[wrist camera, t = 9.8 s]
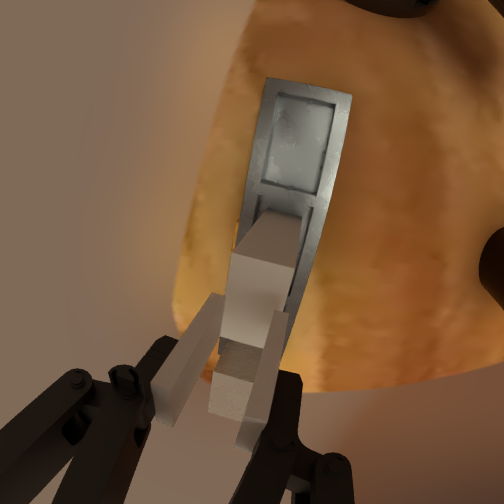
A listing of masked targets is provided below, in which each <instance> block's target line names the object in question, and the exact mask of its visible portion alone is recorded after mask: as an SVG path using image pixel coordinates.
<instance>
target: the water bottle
mask: <svg viewBox="0 0 504 504" xmlns="http://www.w3.org/2000/svg"><path fill="white" fill-rule="evenodd" d="M479 277H480V281H481V283H482V285H483V287H484V288H485V289H486V290H487V291H488V292H489V293H490V295H491V296H492V297H493V298H494V299H495V300H496V302H497V303H498V304H499V305H500V306H501V308H502V309H503V310H504V228H501V229H499V230H498V231H496V232H495V233H494V234H493V235H492V236H491V237H490V239H489V240H488V242H487V243H486V245H485V247H484V249H483V252H482V255H481V258H480V263H479Z"/></svg>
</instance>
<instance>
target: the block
mask: <svg viewBox="0 0 504 504" xmlns="http://www.w3.org/2000/svg"><path fill="white" fill-rule="evenodd" d="M301 223H302V217H300V216H296V215H292V214H288V213H284V212H280V211H276V210H271V209H267V208H266V210H265V211H264V212H263V213H262V215H261V216H260V217H259V219H258V220H257V221H256V222H255V224H254V225H253V226H252V227H251V229H250V230H249V231H248V233H247V234H246V235H245V236H244V238H243V239H242V240H241V241H240V243H239V244H238V245H237V247H236V248H235V249H234V250H233V252H232V254H231V260H230V267H229V273H228V279H227V285H226V292H225V296H226V300H225V306H224V313H223V319H222V326H221V332H220V336H221V337H224V338H227V339H231V340H234V341H238V342H241V343H245V344H248V345H252V346H256V347H259V348H264V344H265V341H266V338H267V334H268V331H269V327H270V324H271V320H272V316H273V313H274V310H278V311H282V312H283V309H284V305H285V302H286V298H287V295H288V292H289V288H290V284H291V281H292V277H293V274H294V270H295V265H296V258H297V252H298V245H299V238H300V231H301Z"/></svg>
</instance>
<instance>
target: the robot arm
mask: <svg viewBox="0 0 504 504" xmlns="http://www.w3.org/2000/svg"><path fill="white" fill-rule="evenodd" d="M346 1H348V2H350V3H352V4H354V5H356V6H358V7H361V8H363V9H366V10H369V11H372V12H375V13H378V14H382V15H387V16H392V17H400V18H413V17H419V16H423V15H425V14H427V13H429V12H430V11H431V10H432V9H433V8H434V7H435V6H436V5H437V4H438V3H439V1H440V0H346ZM488 1H489V2H490V3H491V4H492V5H493V6H494V7H495V9H496V10H497V11H498V12H499V13H500V14H501V15H502V17H503V18H504V0H488ZM225 300H226V296H222V295H219V294H216V293H211V295H210V296H209V298H208V299H207V301H206V302H205V304H204V305H203V306H202V308H201V309H200V311H199V312H198V314H197V315H196V317H195V318H194V319H193V321H192V322H191V324H190V325H189V327H188V328H187V330H186V331H185V333H184V334H183V335H182V337H181V338H180V340H177V339H174V338H172V337H169V336H166V335H165V336H163V337H161V338H159V339H158V340H156V341H155V342H154V344H153V345H152V346H151V347H150V349H149V350H148V351H147V353H146V355H145V356H143V358H142V359H141V360H140V362H139V363H138V364H137V366H136V367H133V366H130V365H117V366H115V367H113V368H112V369H110V371H109V372H108V374H109V378H110V381H111V383H107V382H102V381H98V380H93V379H92V377H91V375H90V374H89V373H88V372H87V371H85V370H83V369H78V368H77V369H71V370H70V371H68V372H66V373H65V374H64V375H63V376H61V377H60V378H59V379H58V380H57V381H56V382H54V383H53V384H52V385H51V386H50V387H49V388H47V389H46V390H45V391H44V392H43V393H42V394H41V395H39V396H38V397H37V398H36V399H35V400H34V401H32V402H31V403H30V404H29V405H28V406H27V407H25V408H24V409H23V410H22V411H21V412H20V413H19V414H17V415H16V416H15V417H14V418H13V419H12V420H11V421H10V422H9V423H7V424H6V425H5V426H4V427H3V428H2V429H1V430H0V504H29V503H30V502H31V501H32V500H33V499H34V498H35V497H36V496H37V495H38V494H39V493H40V492H41V490H42V489H43V488H44V487H45V486H46V485H47V484H48V483H49V482H50V481H51V480H52V479H53V478H54V477H55V475H56V474H57V473H58V472H59V471H60V470H61V469H62V468H63V467H64V466H65V465H66V464H67V463H68V461H70V459H71V458H72V457H73V456H74V457H73V459H72V461H71V463H70V465H69V467H68V469H67V471H66V473H65V475H64V477H63V479H62V482H61V484H60V486H59V488H58V490H57V493H56V495H55V497H54V499H53V502H52V504H123V503H124V500H125V498H126V494H127V492H128V489H129V486H130V483H131V481H132V478H133V475H134V472H135V470H136V467H137V464H138V462H139V459H140V456H141V453H142V451H143V448H144V446H145V443H146V440H147V438H148V435H149V432H150V430H151V421H152V419H153V417H154V416H155V417H156V421H159V422H161V423H163V424H166V425H168V426H171V427H173V426H174V424H175V423H176V421H177V419H178V416H179V415H180V413H181V411H182V409H183V407H184V405H185V403H186V401H187V399H188V397H189V395H190V394H191V392H192V389H193V388H194V386H195V384H196V382H197V380H198V378H199V376H200V374H201V372H202V370H203V368H204V366H205V364H206V362H207V360H208V358H209V356H210V354H211V352H212V351H213V349H214V347H215V345H216V343H217V341H218V339H219V337H220V332H221V326H222V319H223V313H224V306H225ZM288 316H289V313H286V312H282V311H278V310H274V313H273V316H272V320H271V324H270V327H269V331H268V334H267V338H266V341H265V344H264V348H263V351H262V355H261V359H260V362H259V366H258V369H257V373H256V376H255V380H254V383H253V386H252V390H251V393H250V396H249V400H248V403H247V406H246V410H245V413H244V416H243V419H242V423H241V426H240V429H239V432H238V435H237V439H236V442H235V445H234V448H237V449H241V450H244V451H248V452H253V453H252V456H251V460H250V462H249V463H248V465H247V467H246V470H245V472H244V474H243V476H242V478H241V480H240V482H239V484H238V486H237V488H236V490H235V492H234V494H233V496H232V498H231V500H230V502H229V504H280V502H281V499H282V496H283V494H284V491H285V488H286V489H288V490H290V491H292V496H291V504H355V502H354V490H353V479H352V469H351V465H350V462H349V460H348V459H347V458H346V457H345V456H343V455H341V454H339V453H333V452H332V453H326V454H324V455H322V454H319V453H317V452H315V451H313V450H310V449H309V448H307V447H305V446H304V445H303V444H302V443H301V441H300V439H299V437H298V423H299V415H300V407H301V397H302V389H303V382H302V380H301V377H300V375H299V374H297V373H292V372H288V371H283V370H279V365H280V360H281V355H282V349H283V344H284V339H285V333H286V327H287V322H288Z"/></svg>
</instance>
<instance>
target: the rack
mask: <svg viewBox="0 0 504 504" xmlns="http://www.w3.org/2000/svg"><path fill="white" fill-rule="evenodd" d="M351 101H352V95H350V94H346V93H343V92H339V91H335V90H331V89H327V88H323V87H318V86H314V85H309V84H304V83H299V82H293V81H287V80H281V79H275V78H268V77H266V82H265V87H264V92H263V97H262V102H261V107H260V112H259V117H258V123H257V128H256V133H255V138H254V143H253V149H252V154H251V159H250V165H249V170H248V175H247V181H246V186H245V192H244V197H243V203H242V209H241V214H240V219H239V220H238V221H237V222H236V227H235V233H234V239H233V245H232V252H233V250H234V249H235V248H236V247H237V245H238V244H239V243H240V241H241V240H242V239H243V238H244V236H245V235H246V234H247V233H248V231H249V230H250V229H251V227H252V226H253V225H254V224H255V222H256V221H257V220H258V219H259V217H260V216H261V215H262V213H263V212H264V211H265V210H266V208H267V209H271V210H276V211H280V212H284V213H288V214H292V215H296V216H300V217H302V223H301V231H300V238H299V245H298V252H297V258H296V265H295V270H294V274H293V277H292V281H291V284H290V288H289V292H288V295H287V298H286V302H285V305H284V309H283V312H286V313H289V316H288V322H287V327H286V333H285V339H284V344H283V349H282V355H281V358H282V356H283V353H284V350H285V347H286V344H287V341H288V339H289V336H290V333H291V330H292V327H293V324H294V321H295V318H296V315H297V312H298V309H299V306H300V303H301V300H302V297H303V294H304V290H305V287H306V284H307V281H308V277H309V274H310V271H311V268H312V264H313V261H314V257H315V254H316V250H317V247H318V243H319V240H320V236H321V233H322V229H323V225H324V221H325V218H326V214H327V210H328V206H329V202H330V198H331V194H332V190H333V186H334V182H335V178H336V173H337V169H338V165H339V160H340V156H341V151H342V147H343V142H344V137H345V132H346V127H347V122H348V117H349V112H350V106H351ZM262 351H263V348H259V347H256V346H252V345H248V344H245V343H241V342H238V341H234V340H231V339H227V338H224V337H221V336H220V342H219V349H218V354H219V355H221V356H220V358H219V360H218V362H217V364H216V367H215V369H214V371H213V378H212V385H211V393H210V400H209V408H208V412H210V413H213V414H217V415H219V416H223V417H226V418H229V419H233V420H236V421H240V422H242V419H243V416H244V413H245V410H246V406H247V403H248V400H249V396H250V393H251V390H252V386H253V383H254V380H255V376H256V373H257V369H258V366H259V362H260V359H261V355H262ZM280 361H281V360H280Z"/></svg>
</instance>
